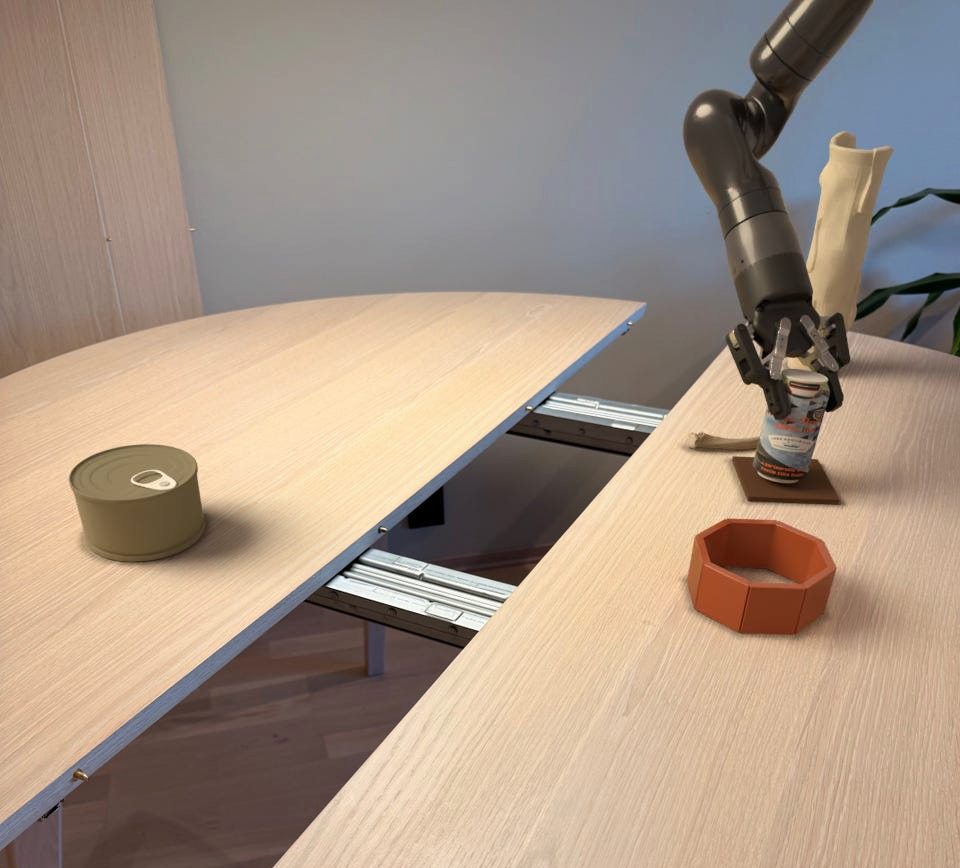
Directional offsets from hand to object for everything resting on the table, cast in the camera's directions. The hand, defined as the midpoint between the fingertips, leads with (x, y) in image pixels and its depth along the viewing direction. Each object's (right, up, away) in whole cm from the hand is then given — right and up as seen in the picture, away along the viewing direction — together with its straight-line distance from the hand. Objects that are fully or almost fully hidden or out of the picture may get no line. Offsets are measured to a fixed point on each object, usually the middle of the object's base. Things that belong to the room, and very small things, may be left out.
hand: (809, 412), depth 105 cm
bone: (-5, -1, +14) cm, 15 cm away
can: (-69, -14, -6) cm, 71 cm away
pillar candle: (+12, +14, +35) cm, 40 cm away
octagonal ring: (-9, -20, -13) cm, 26 cm away
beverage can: (-1, -6, +6) cm, 9 cm away
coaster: (-1, -6, +6) cm, 9 cm away
